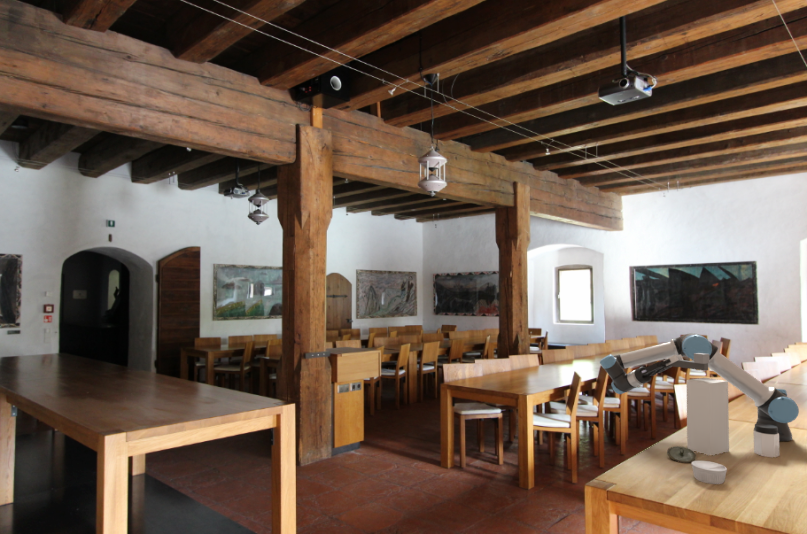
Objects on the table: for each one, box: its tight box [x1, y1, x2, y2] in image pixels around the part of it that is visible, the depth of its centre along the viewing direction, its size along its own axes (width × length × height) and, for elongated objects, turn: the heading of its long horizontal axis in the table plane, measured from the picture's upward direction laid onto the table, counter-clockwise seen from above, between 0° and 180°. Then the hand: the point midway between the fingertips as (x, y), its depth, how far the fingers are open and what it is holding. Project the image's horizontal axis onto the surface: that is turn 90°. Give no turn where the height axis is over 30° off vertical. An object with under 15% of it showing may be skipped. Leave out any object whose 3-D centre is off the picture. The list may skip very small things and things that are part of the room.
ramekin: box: [690, 460, 728, 485], centre depth 191 cm, size 11×11×5 cm
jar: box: [753, 423, 780, 458], centre depth 223 cm, size 9×8×12 cm
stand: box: [686, 377, 730, 456], centre depth 228 cm, size 14×10×30 cm
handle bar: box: [662, 353, 709, 372], centre depth 237 cm, size 5×19×7 cm, turn 30°
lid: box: [666, 445, 697, 464], centre depth 215 cm, size 11×10×5 cm
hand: (679, 357), depth 240 cm, fingers closed on handle bar, 3 cm apart
